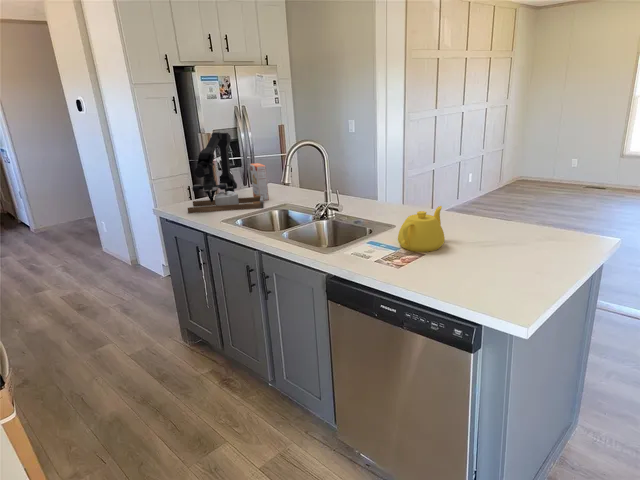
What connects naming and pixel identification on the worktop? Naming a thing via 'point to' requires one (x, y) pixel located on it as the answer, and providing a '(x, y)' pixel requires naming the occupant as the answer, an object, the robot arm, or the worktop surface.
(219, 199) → the lumpy-topped squat cylinder
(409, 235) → the teapot
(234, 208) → the guide rails
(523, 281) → the worktop surface
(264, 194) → the cracker box
